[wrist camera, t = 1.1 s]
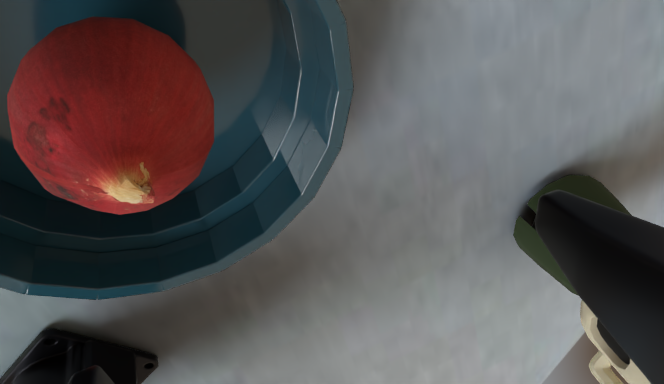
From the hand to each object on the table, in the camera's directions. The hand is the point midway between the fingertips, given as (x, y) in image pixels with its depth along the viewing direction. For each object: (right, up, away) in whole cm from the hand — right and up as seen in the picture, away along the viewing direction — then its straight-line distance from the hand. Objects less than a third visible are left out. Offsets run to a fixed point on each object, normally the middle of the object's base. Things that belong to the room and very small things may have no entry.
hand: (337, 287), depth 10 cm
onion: (-8, +6, +9) cm, 14 cm away
